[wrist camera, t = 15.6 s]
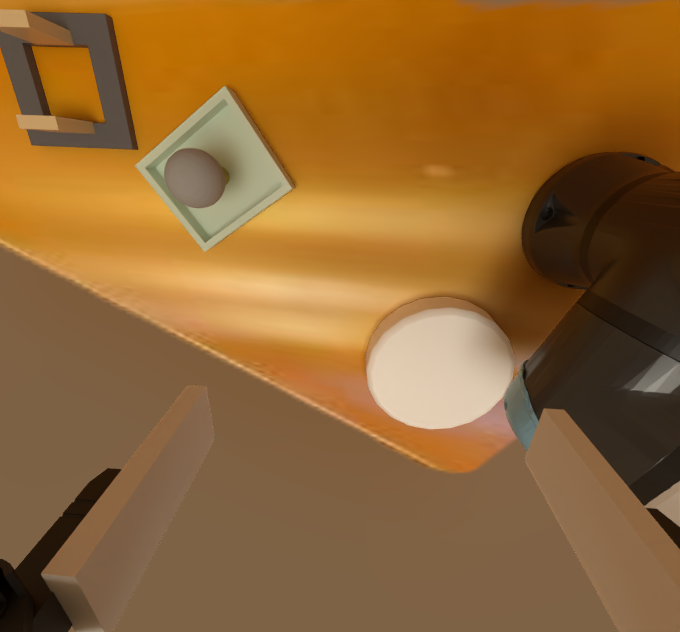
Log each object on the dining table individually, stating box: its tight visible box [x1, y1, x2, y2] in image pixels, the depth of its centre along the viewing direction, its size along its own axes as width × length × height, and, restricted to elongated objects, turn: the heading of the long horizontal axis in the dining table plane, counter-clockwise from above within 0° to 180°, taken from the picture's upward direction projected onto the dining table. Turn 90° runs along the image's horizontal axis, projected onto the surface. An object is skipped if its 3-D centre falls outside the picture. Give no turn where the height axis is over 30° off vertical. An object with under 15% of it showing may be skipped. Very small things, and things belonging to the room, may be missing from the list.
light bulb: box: [164, 148, 229, 208], centre depth 34 cm, size 5×6×10 cm
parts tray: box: [135, 86, 296, 252], centre depth 38 cm, size 14×12×2 cm
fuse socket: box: [0, 9, 138, 150], centre depth 34 cm, size 12×12×6 cm
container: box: [366, 296, 515, 429], centre depth 47 cm, size 20×20×5 cm
